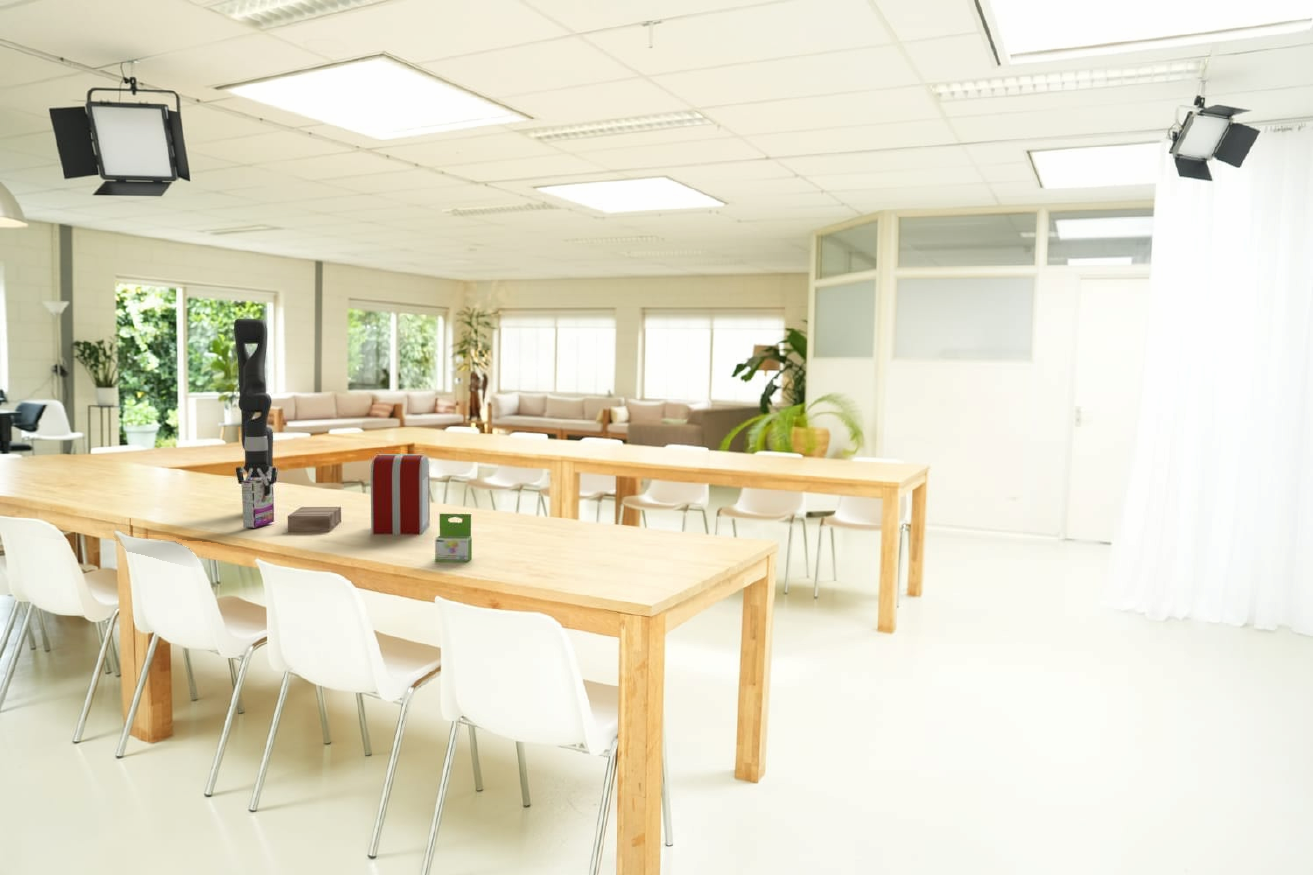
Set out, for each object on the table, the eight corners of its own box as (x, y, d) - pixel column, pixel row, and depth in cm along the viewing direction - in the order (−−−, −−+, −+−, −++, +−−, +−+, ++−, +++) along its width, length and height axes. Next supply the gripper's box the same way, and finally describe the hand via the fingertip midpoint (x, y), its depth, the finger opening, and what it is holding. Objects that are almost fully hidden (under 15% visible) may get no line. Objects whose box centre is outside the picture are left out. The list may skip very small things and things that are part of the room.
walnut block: (301, 523, 320) (301, 507, 319) (341, 522, 322) (341, 506, 321) (287, 533, 302) (287, 516, 302) (329, 532, 304) (329, 515, 303)
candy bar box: (262, 521, 317) (261, 476, 315) (274, 522, 316) (273, 477, 314) (241, 527, 306) (240, 481, 304) (254, 528, 305) (253, 482, 303)
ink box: (434, 561, 265) (434, 516, 263) (438, 557, 270) (438, 513, 269) (468, 562, 265) (468, 517, 263) (471, 558, 270) (471, 513, 269)
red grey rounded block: (381, 524, 318) (380, 451, 315) (430, 524, 319) (429, 452, 317) (370, 534, 301) (369, 457, 299) (422, 534, 303) (421, 457, 300)
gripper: (280, 447, 313) (282, 494, 314) (239, 447, 311) (240, 493, 313) (274, 450, 305) (275, 497, 307) (231, 450, 304) (232, 497, 305)
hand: (257, 495), depth 310 cm, fingers closed on candy bar box, 6 cm apart
